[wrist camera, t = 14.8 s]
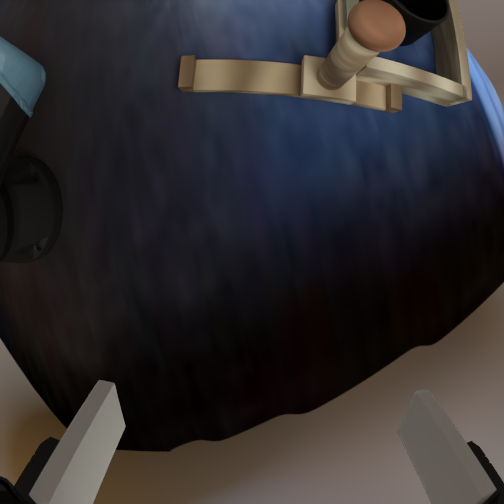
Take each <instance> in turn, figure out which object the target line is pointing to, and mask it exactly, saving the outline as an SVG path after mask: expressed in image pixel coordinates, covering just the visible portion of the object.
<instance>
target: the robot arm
mask: <svg viewBox="0 0 504 504" xmlns="http://www.w3.org/2000/svg"><path fill="white" fill-rule="evenodd" d="M45 83H46V72H45V69H44V68H43V66H42V65H41V64H39V63H38V62H37V61H35V60H34V59H33V58H31V57H30V56H28V55H27V54H25V53H24V52H23V51H21V50H20V49H18V48H17V47H15V46H14V45H12V44H11V43H9V42H8V41H6V40H5V39H3V38H2V37H0V262H11V263H28V262H32V261H34V260H36V259H38V258H40V257H42V256H44V255H45V254H46V253H48V252H49V251H50V249H51V248H52V247H53V245H54V244H55V242H56V240H57V237H58V234H59V231H60V227H61V221H62V201H61V195H60V191H59V187H58V184H57V182H56V180H55V177H54V176H53V174H52V172H51V171H50V170H49V168H48V167H47V166H46V165H45V164H43V163H42V162H41V161H39V160H37V159H34V158H15V159H11V157H12V155H13V152H14V150H15V148H16V145H17V143H18V141H19V139H20V136H21V134H22V132H23V130H24V128H25V126H26V124H27V122H28V120H29V118H30V117H32V115H33V109H34V106H35V104H36V102H37V100H38V98H39V96H40V94H41V92H42V90H43V88H44V86H45ZM124 429H125V423H124V419H123V416H122V412H121V408H120V404H119V400H118V396H117V392H116V387H115V383H111V382H107V381H102V380H99V381H98V382H97V384H96V385H95V387H94V388H93V390H92V391H91V393H90V394H89V396H88V397H87V399H86V400H85V402H84V404H83V405H82V407H81V408H80V410H79V411H78V413H77V414H76V416H75V418H74V419H73V421H72V422H71V424H70V426H69V427H68V429H67V431H66V432H65V434H64V435H63V437H62V439H61V440H57V439H55V438H52V437H49V438H48V439H46V440H45V441H44V442H42V443H41V444H40V445H39V447H38V449H37V450H36V452H35V455H33V456H32V458H31V460H30V462H29V463H28V464H27V466H26V467H25V469H24V471H23V472H22V474H21V476H20V477H19V479H18V480H17V482H16V484H15V485H14V486H13V485H12V484H11V483H10V482H9V481H8V480H7V479H6V478H3V477H1V476H0V504H93V502H94V500H95V497H96V495H97V492H98V490H99V487H100V485H101V482H102V480H103V478H104V475H105V473H106V470H107V468H108V466H109V463H110V461H111V458H112V456H113V454H114V451H115V449H116V447H117V445H118V442H119V440H120V438H121V435H122V433H123V431H124ZM397 433H398V435H399V437H400V439H401V441H402V443H403V445H404V447H405V449H406V451H407V453H408V455H409V457H410V459H411V461H412V463H413V465H414V468H415V470H416V471H417V474H418V476H419V478H420V480H421V482H422V484H423V486H424V489H425V491H426V493H427V495H428V497H429V499H430V502H431V504H504V483H503V481H502V480H501V478H500V476H499V475H498V474H497V472H496V470H495V469H494V467H493V466H492V464H491V463H489V460H488V458H487V457H485V454H484V453H483V451H482V450H481V448H480V447H479V446H478V445H476V444H475V443H473V442H472V441H471V442H468V443H466V441H465V440H464V438H463V437H462V436H461V434H460V433H459V431H458V430H457V428H456V427H455V425H454V424H453V422H452V421H451V420H450V418H449V417H448V415H447V414H446V412H445V411H444V410H443V408H442V407H441V405H440V404H439V403H438V401H437V400H436V399H435V397H434V396H433V395H432V393H431V392H430V390H429V389H424V390H417V391H415V393H414V395H413V398H412V400H411V402H410V405H409V407H408V409H407V411H406V414H405V416H404V418H403V420H402V422H401V424H400V427H399V428H398V431H397Z"/></svg>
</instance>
